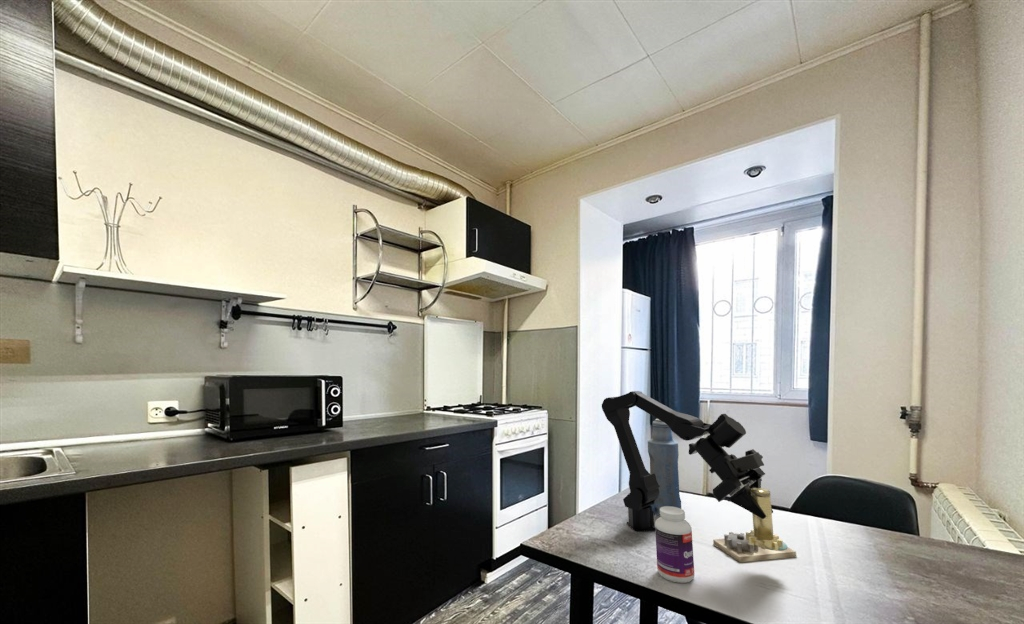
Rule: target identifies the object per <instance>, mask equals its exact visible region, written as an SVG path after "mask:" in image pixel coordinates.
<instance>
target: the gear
mask: <svg viewBox="0 0 1024 624" xmlns="http://www.w3.org/2000/svg"><path fill="white" fill-rule="evenodd" d="M750 491H751V495H752V497H753V498H754V499H755V501H756V502H757V503H758V505H759V506H760V507H761V509H762V510H763V512H764V513H765V515H766V518H764V519H762V518H760V517H758V516H757V515H755V514H753V513H751V514H752V527H753V529H751V530H750V532H747V531H746V532H745V535H746V540H749V544H751V545H756V546H758V547H761V549H765V548H766V549H774V550H778V548H779V547H781V548H783V541H784V540H783V539H781V538H780V536H779V535H777V534H774V529H773V528H774V525H773V513H772V511H771V508H772V501H771V491H770V489H767V488H762V487H761V488H751V489H750Z"/></svg>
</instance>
